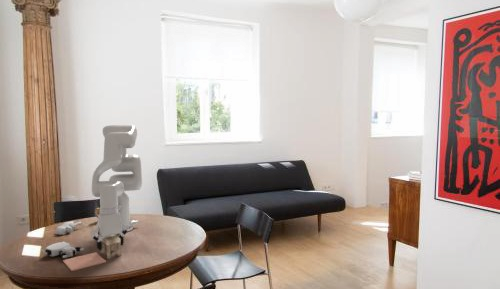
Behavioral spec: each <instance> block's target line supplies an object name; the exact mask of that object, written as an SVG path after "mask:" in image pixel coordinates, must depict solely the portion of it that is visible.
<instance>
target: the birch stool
mask: <svg viewBox="0 0 500 289" xmlns="http://www.w3.org/2000/svg"><path fill="white" fill-rule="evenodd" d="M101 242H102V250H100V254H102V255H105V245H106V258H107V259H111V252H115V251H116V252H117V254H116V255H117V256H118V257H121V256H122V245H121V239H120V238H119V235H118V236H117V234H116V235H111V236H106V237H103V238H102V239H101ZM115 244H116V245H115ZM115 248H116V250H115Z"/></svg>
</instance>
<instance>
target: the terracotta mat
mask: <svg viewBox="0 0 500 289" xmlns="http://www.w3.org/2000/svg"><path fill="white" fill-rule="evenodd" d="M62 262H63V263H64V264H65V266H66V267H67V268H68V269H69V270H70V271H71V272H73V271H74V272H75V271H78V270H80V269H81V270H82V269H85V268H86V269H87V268H89V267H92V266H96V265H97V266H98V265H100V264H103V263H107V261H106V259H104V258H103V257H102V256H101V255H100V254H98V253H97V252H92V253H87V254H81V255H79V256H74V257H71V258H70V257H69V258H65V259H63V260H62Z"/></svg>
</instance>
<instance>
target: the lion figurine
mask: <svg viewBox="0 0 500 289" xmlns="http://www.w3.org/2000/svg"><path fill="white" fill-rule="evenodd" d="M99 214H101V211H100V207H97V208H95V210H94V216H95V217H96V218H98V216H99ZM97 223H98V220H97Z"/></svg>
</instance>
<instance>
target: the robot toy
mask: <svg viewBox="0 0 500 289" xmlns="http://www.w3.org/2000/svg"><path fill="white" fill-rule="evenodd" d="M84 250H85V249H84V247H80V246H76V247H75V246H72V245H71V244H70V243H69V242H66V241H64V240H63V241H60V242H55V243H53V244H49V245H48V246H46V247H45V250H43V249H40V251H42V252H43V253H44V254H45V255H47V256H50V257H56V256H60V258H62V259H69V258H70V257H71V258H72V257H73V256H76V255H77V252H78V253H80V252H83V251H84Z"/></svg>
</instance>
